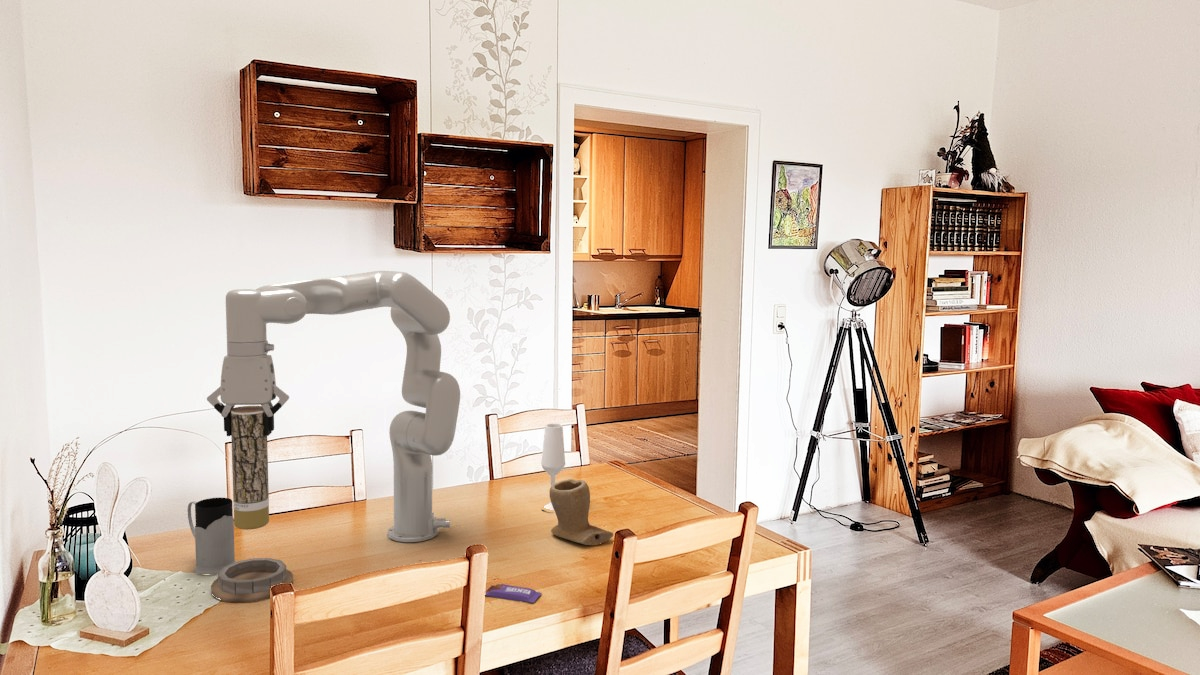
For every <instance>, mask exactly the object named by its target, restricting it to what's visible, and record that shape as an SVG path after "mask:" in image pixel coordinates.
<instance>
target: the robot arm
mask: <svg viewBox="0 0 1200 675" xmlns="http://www.w3.org/2000/svg"><path fill="white" fill-rule="evenodd" d="M384 307H386V308H387V307H388V308H390V318H391V320H392V322H393V324H394V326H396V328H397V329H398V330H399V331H400V333H401V334H402V336H403V338H404V340H405V344H406V358H405V365H404V371H403V378H402V384H401V395H402V398H403V400H404V401H405V403H407V404H409V405H412V406H415V407H420V408H425V412H421V411H417V410H403V411H402V412H399V413H398V414H396V415H395V416H393V417H394V418H392V420H391V423H390V426H389V431H388V432H389V439H390V440H389V441H390V444H391V445H390V446H391V450H392V459H393V525H392V526H390V527H389V528H388V529H387V537H388V538H389V539H390V540H393V541H396V542H401V543H418V542H419V543H420V542H423V541H428V540H430V539H432V538H435V537H436V536H438V535H439V528H443V529H447V528H451V520H450V519H446V517H439V518H437V516H435V512H433V461H432V457H431V456H441V455H444V454H445V453H446V452H447V451H449V449H450V448H451V447H452V444H453V441H454V440H455V439H454V438H455V434H456V428H457V422H458V415H459V408H460V403H461V402H460V401H461V390H460V388H461V387H460V385H459V382H458V380H457V379H456V378H455V377H454V376H453V375H452V374H451V373H449V372H444V371H441V370H440V369H441V361H442V360H441V358H442V345H441V341H440V338H439V334H442V333H444V331H445V330H446V329H447V328H448V327H449V324H450V321H451V315H450V311H449V310H450V309H449V308H448V306H447V305H446V304H445V302H444V301H443V300H442V299H441V298H440V297H438V296H437V295H436V294H435V293H434V292H432V291H431V290H430V289H429V288H428V287H427V286H426V285H425V284H424V283H422V282H421V281H420V280H418V278H416V277H415V276H413V275H412V274H409V273H408V272H404V271H393V270H376V271H374V270H373V271H368V272H361V273H354V274H349V275H341V276H333V277H331V276H330V277H324V278H317V279H309V280H298V281H291V282H284V283H276V284H269V285H262V286H260V287H258V288H256V289H251V288H250V289H247V288H246V289H245V288H243V289H232V290H228V292H227V293H226V295H225V322H226V324H225V325H226V327H225V328H226V353H227V354H226V355H225V356H224V357H223V361H222V366H221V367H222V368H221V376H220V386H219V387H218V388H217V389H215V391H213V392H211V394H210V395H208V396H207V397H206V400H207V402H208V403H209V404H210V405H211V406H212V407H213V409H215V411H217V413H219V414H220V415H221V417H222V418H223V431H224V432H226V436H227V437H231V409H233V408H235V406H237V405H238V406H239V405H240V406H262V407H263V409H264V411H265V413H266V417H264V435H265V436H267V437H269V436H270V435H271V434H272V433H273V431H274V430H275V414H276V413H277V412H278V411H279V410H280V409H281V408H282V407H283V406H284V405H285V404H286V403H287V402H288V401H289V399H290V395H289V394H287V393H286V392H284V391H283V390H282V389H280V388H279V386H278V385H277V382H276V373H275V368H274V362H273V357H272V355H270V354H268V353H269V352H273V351H274V350H275V344H274V343H269V342H268V341H269V340H267V324H282V325H289V324H290V325H291V324H295V323H297V322H299V321H302V319H303V318H304V317H305V316H306V315H310V314H311V315H312V314H313V315H328V316H329V315H332V316H334V315H345V314H349V313H355V312H359V311H365V310H373V309H377V308H384ZM219 397H220V400H219ZM276 397H278V401H277V402H276V403H275V404H274V405H273V403H272V401H273V400H275V399H277V398H276ZM220 401H221V402H220Z"/></svg>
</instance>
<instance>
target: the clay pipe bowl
mask: <svg viewBox="0 0 1200 675" xmlns="http://www.w3.org/2000/svg"><path fill="white" fill-rule="evenodd" d="M549 499H550V500H551V503H552V506H553V508H554V511H555V513H554V514H555V515H556V518H557V525H555V526H553V527H552V528H551V529H550V533H552V535H554V536H557V537H559V538H562V539H564V540H568V541H571V542H575V543H578V544H581V545H585V546H597V545H596V544H598V545H601V544H604V543H605V542H607V541H609V540H610V539H611V538H612V537H614V532H612V531H609V530H605V529H604V528H600V527H597V526H594V525H592V524H590V523H589V522H590V521H589V511H590V507H591V506H590V505H591V491H590V487H589V485H588V483H587V482H586V481H585V480H583V479H579V480H577V479H572V478H569V479H564V480H560V481H558V482H555V484H553V485H552V486H551V485H550V488H549ZM600 543H601V544H600Z"/></svg>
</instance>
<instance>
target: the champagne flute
mask: <svg viewBox="0 0 1200 675" xmlns="http://www.w3.org/2000/svg"><path fill="white" fill-rule="evenodd" d="M544 427H545V428H544V434H543V435H544V436H543V445H542V454H541V462H540V464H541V467H542V468H543V470H544V471H545V473H546V474H548V475H549V476H550V487H551V486H552V485H553V484H555V483H556V476H557V475H558V474H560V473H561V472H562V471H563V469H564V468H565V466H566V459H565V457H566V456H565V441H564V430H563V429H564V427H563V424H560V423H547V424H546V425H545V426H544ZM543 506H544V508H546V509H550V510H554V508H553V506H552V503H551V500H550V502H549V503H547V504H545V505H543Z"/></svg>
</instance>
